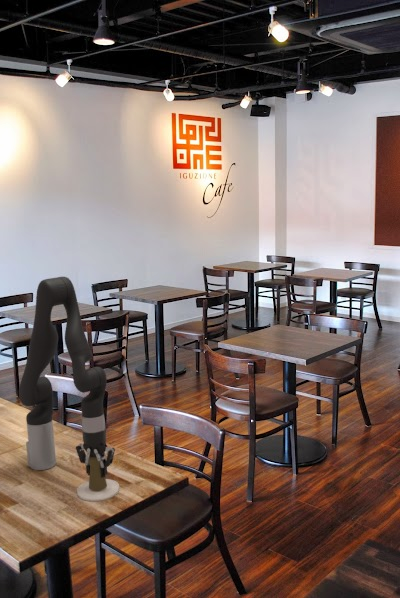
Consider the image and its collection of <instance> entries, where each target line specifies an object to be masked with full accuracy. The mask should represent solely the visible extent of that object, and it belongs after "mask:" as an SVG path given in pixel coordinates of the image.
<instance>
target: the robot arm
mask: <svg viewBox="0 0 400 598" xmlns="http://www.w3.org/2000/svg"><path fill="white" fill-rule="evenodd" d="M77 298H78V297H77V294H76V289H75V287H74V284H73V282H72V281H71V279H70V278H69V277H67V276H57V277H50V278H46V279H42V280H41V281H39V283H38V286H37V289H36V297H35V311H34V318H33V319H34V320H33V326H32V330H31V336H30V340H29V346H28V352H27V358H26V359H27V360H26V363H25V366H24V370H23V373H22V377H21V379H20V380H21V381H20V382H19V389H18V396H19V400H20V403H21V405H23V406H25V407H33V406H34V407H33V408H32V409H31V410H30V411H29V412H27V414H26V417H25V421H26V430H27V441H26V442H25V443H26V445H25V446H26V456H27V466H28V467H29V468H31V469H32V470H34V471H45V470H49V469H51V468H54V467H55V466H56V465H57V459H56V445H55V444H56V443H55V434H54V432H55V431H54V422H53V415H54V394H53V393H54V390H53V386H52V383H51V381H50V379H49V378H48V377H47V376H41V375H42V373H43V372H44V371H45V370H46V368H47V367H48V366H49V364H51V362H52V360H53V359H54V357H55V356H56V353H57V348H58V342H59V334H58V331H57V329H56V327H55V326H54V323H53V321H52V319H51V317H52V310H53V308H54V307H56V306H60V305H61V306H62V305H63V307H64V310H65V313H66V325H65V326H66V327H65V330H64V343H65V347H66V349H67V352H68V355H69V357H70V360H71V367H72V378H73V384H74V387H75V388H76V389H77V391H79V393H82V394H83V393H84V394H85V393H88V394H87V395H86V396H84V397H83V398H82V400H80V401H81V402H80V406H81V407H80V408H81V431H82V442H83V443H78V445H76V446H75V450H76V453H77V456H78V459H79V462H80V464H84V465H85V471H86V474H87V476H88V477H89V476H90V465H89V463H88V460H89V458H90V457H97V460H98V462H100V465H101V477H102V478H104V477H105V478H106V476H107V475H108V467H109V466H110V465H112V464H113V460H114V456H115V452H116V450H115V448H114V447H112V448H111V447H109V446H108V445H107V442H106V440H107V435H106V431H107V430H106V421H105V414H104V413H105V412H104V398H105V393H106V388H107V381H108V380H107V379H108V378H107V374H106V372H105V370H104V369H103V368H102V367H101V366H93V367H89V368H87V369H86V363H88V362H89V361H91V360H92V359H93V351H92V350H91V347H90V344H89V341H88V339H87V337H86V336H87V335H86V333H85V330H84V326H83V322H82V318H81V317H82V316H81V313H80V308H79V304H78V299H77ZM101 456H102V458H101ZM103 460H104V462H103Z"/></svg>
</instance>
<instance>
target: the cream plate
mask: <svg viewBox="0 0 400 598" xmlns="http://www.w3.org/2000/svg"><path fill="white" fill-rule="evenodd" d="M106 483H107V487H106V488H104V489H102V490H98V491H94V490H90V489H89V480H88V481H85V482H83V483H82V484H80V485H79V486H78V487H77V489H76V494H77V497H78V498H79V499H81V500H82V501H85V502H103V501H107V500H109V499H112V498H113V497H115V496H116V495H117V494H118V493H119V491H120V485H119V483H118V482H117V481H116V480H114V479H111V478H110V479H109V478H106Z"/></svg>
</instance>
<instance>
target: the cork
mask: <svg viewBox="0 0 400 598" xmlns="http://www.w3.org/2000/svg"><path fill="white" fill-rule="evenodd" d="M101 458H102V456H101ZM103 462H104V460H103ZM88 463H89V465H90V476H88V477H89V478H88V481H89V489H90V490H94V491H98V490H102V489H104V488H106V487H107V483H106V479H107V478H106V476H105V477H104V478H102V477H101V465H100V462H98V460H97V457H90V458H89V460H88Z"/></svg>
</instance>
